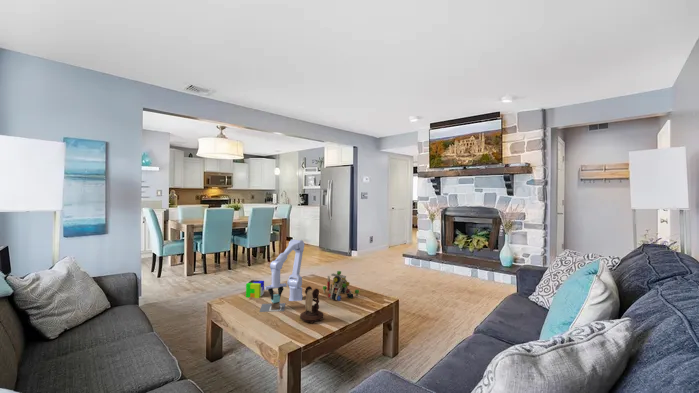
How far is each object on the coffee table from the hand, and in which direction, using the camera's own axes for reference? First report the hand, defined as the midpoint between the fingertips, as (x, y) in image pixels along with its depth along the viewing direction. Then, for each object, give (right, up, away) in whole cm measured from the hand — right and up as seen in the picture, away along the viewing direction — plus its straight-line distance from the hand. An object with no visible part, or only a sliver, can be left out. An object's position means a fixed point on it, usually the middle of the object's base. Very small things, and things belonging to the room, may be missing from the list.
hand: (275, 298), depth 206 cm
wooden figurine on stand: (+26, -8, -14) cm, 31 cm away
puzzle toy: (-22, -7, +26) cm, 35 cm away
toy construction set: (+40, -8, +30) cm, 51 cm away
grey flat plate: (-2, -7, +2) cm, 8 cm away
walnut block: (0, -7, 0) cm, 7 cm away
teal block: (0, -2, 0) cm, 2 cm away
